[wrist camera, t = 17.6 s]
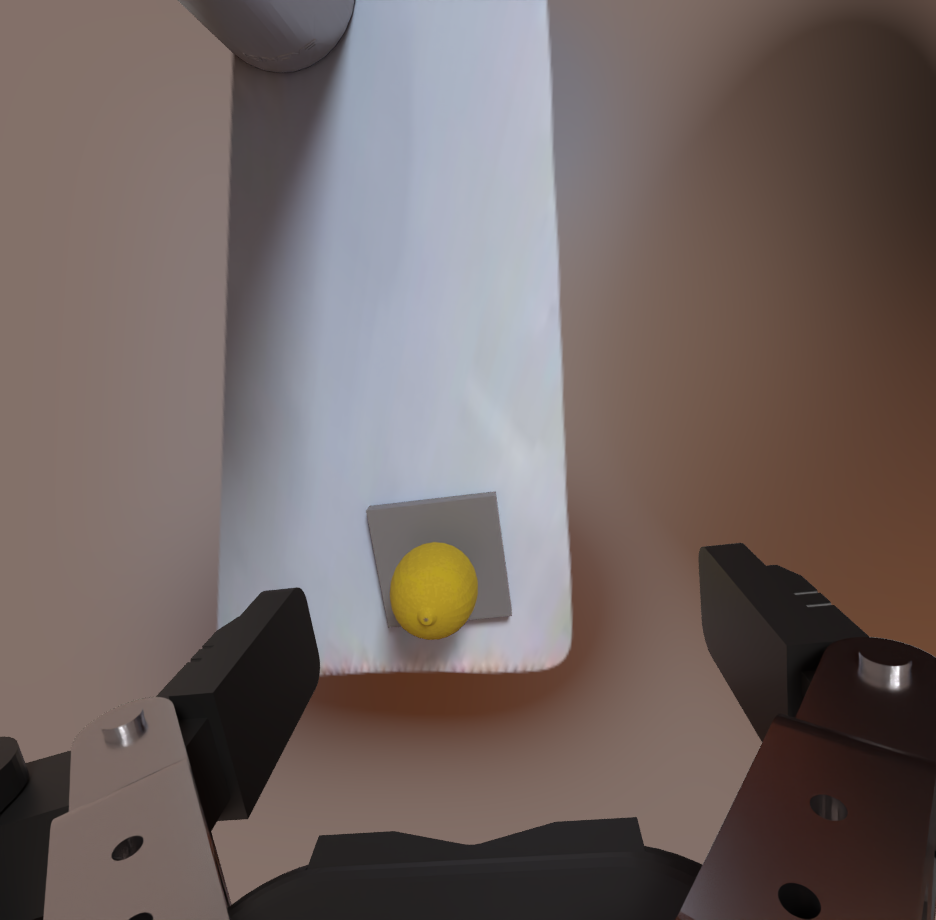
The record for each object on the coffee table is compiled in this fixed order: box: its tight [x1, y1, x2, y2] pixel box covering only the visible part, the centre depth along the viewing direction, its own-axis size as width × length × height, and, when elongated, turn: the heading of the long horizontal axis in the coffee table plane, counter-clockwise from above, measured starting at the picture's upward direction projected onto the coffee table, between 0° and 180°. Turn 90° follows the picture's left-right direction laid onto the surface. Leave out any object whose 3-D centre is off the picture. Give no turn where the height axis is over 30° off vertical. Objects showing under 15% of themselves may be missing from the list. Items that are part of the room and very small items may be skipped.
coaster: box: [366, 492, 512, 628], centre depth 42 cm, size 9×9×1 cm
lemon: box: [390, 542, 478, 640], centre depth 37 cm, size 6×6×8 cm
